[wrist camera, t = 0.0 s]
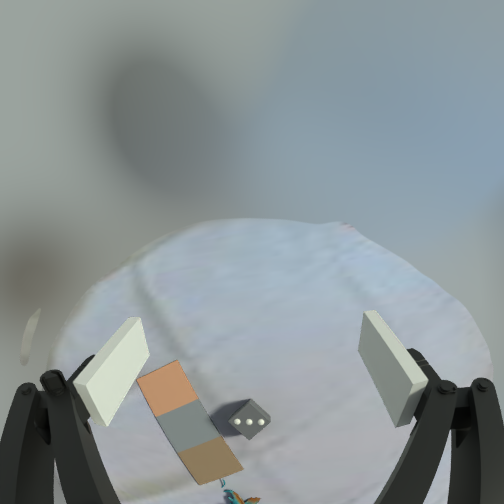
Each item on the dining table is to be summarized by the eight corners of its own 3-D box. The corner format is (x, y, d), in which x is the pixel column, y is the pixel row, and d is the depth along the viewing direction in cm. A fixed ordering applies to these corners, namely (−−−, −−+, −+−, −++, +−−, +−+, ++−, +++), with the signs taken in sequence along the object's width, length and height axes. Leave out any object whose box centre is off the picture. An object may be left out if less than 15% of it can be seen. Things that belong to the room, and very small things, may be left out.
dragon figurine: (204, 503, 36) (236, 524, 31) (211, 485, 36) (245, 508, 31) (225, 489, 41) (255, 508, 37) (232, 471, 41) (265, 491, 36)
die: (270, 416, 44) (270, 422, 39) (250, 432, 43) (248, 440, 38) (251, 398, 45) (249, 402, 41) (231, 415, 44) (227, 421, 39)
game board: (243, 468, 40) (243, 469, 39) (199, 484, 38) (199, 485, 38) (177, 359, 48) (177, 359, 48) (137, 379, 47) (136, 379, 47)
